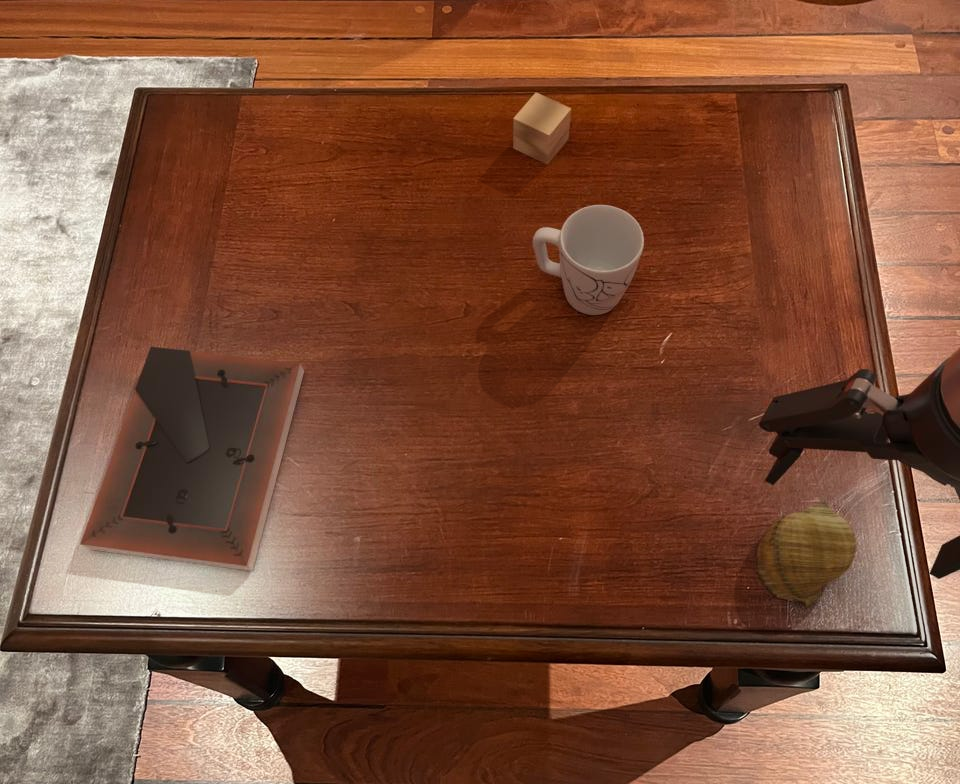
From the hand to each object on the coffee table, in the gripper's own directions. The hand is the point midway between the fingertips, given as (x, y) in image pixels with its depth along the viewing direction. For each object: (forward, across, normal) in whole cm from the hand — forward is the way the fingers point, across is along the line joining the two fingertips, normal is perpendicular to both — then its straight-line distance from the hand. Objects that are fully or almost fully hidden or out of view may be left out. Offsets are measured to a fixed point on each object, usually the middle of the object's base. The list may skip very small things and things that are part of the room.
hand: (855, 514), depth 63 cm
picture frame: (+14, +55, +24) cm, 61 cm away
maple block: (+14, +48, -30) cm, 58 cm away
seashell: (+14, 0, 0) cm, 14 cm away
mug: (+14, +33, -15) cm, 39 cm away
